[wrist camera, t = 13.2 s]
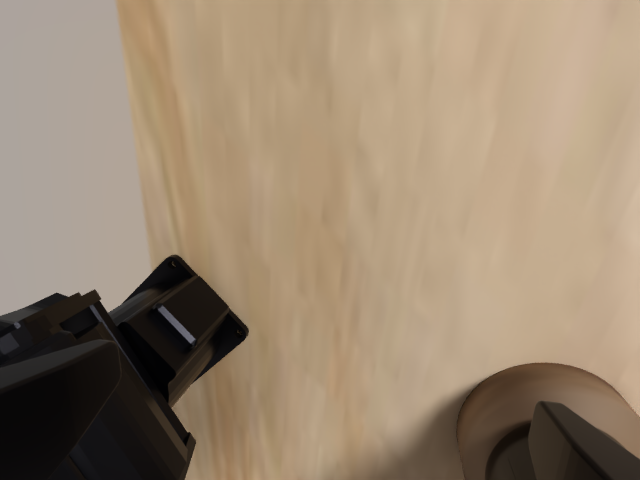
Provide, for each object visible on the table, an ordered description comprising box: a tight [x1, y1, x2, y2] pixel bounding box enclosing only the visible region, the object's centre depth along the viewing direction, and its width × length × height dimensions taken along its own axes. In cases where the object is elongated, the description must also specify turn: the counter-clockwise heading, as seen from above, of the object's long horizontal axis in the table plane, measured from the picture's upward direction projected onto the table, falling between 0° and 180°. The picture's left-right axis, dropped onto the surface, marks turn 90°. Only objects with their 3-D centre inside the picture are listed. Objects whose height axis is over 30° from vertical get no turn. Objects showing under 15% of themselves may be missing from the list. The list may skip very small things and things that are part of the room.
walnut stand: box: [457, 363, 640, 480], centre depth 21 cm, size 9×9×2 cm
